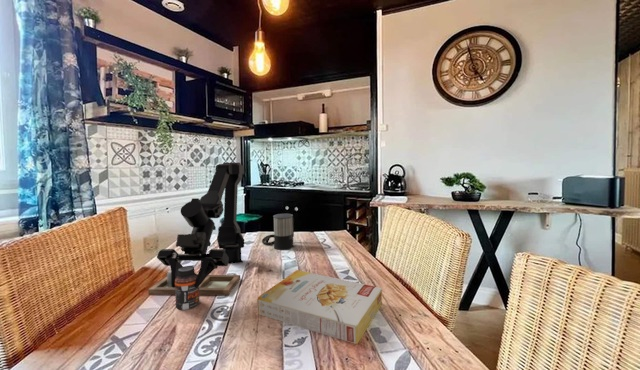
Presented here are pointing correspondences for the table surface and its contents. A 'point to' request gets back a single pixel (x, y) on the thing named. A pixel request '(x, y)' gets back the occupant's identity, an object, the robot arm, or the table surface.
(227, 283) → the walnut twin holder
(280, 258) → the table surface
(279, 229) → the milk frother
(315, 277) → the cereal box
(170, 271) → the seated grey knob
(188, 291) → the supplement bottle
